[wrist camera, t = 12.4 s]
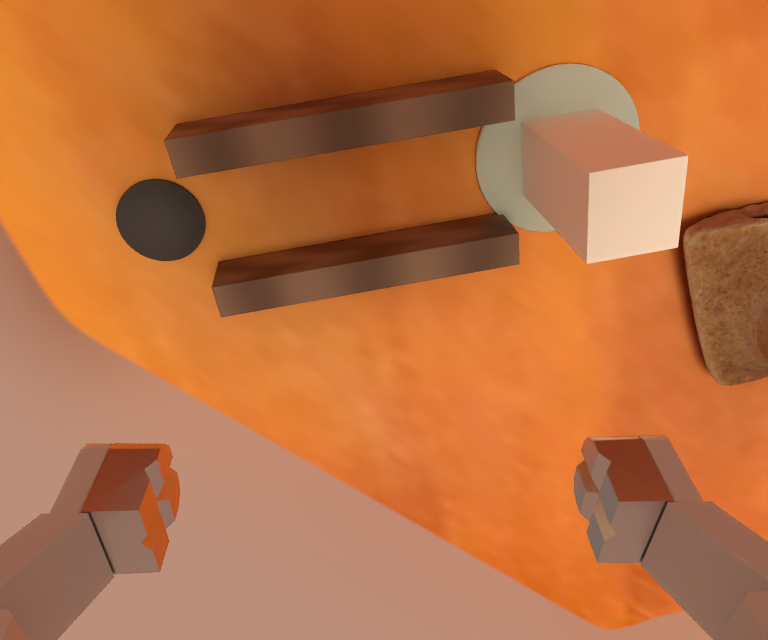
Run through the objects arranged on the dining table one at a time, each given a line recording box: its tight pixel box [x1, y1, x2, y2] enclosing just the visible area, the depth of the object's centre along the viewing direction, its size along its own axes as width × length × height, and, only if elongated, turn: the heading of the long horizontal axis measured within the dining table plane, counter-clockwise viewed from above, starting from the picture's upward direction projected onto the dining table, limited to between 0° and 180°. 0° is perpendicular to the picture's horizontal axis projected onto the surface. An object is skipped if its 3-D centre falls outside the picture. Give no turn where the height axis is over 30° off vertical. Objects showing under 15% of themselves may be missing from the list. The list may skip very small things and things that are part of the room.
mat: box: [475, 63, 640, 232], centre depth 37 cm, size 10×10×1 cm
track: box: [164, 70, 519, 317], centre depth 36 cm, size 18×10×4 cm, turn 98°
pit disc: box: [116, 179, 205, 261], centre depth 37 cm, size 5×5×1 cm
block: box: [521, 108, 688, 264], centre depth 33 cm, size 4×4×10 cm
